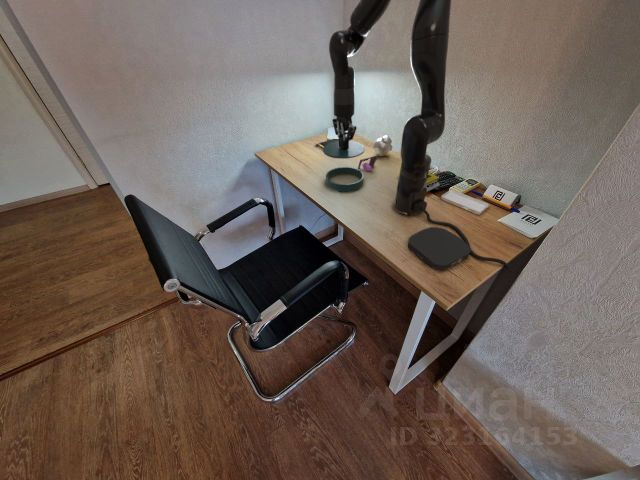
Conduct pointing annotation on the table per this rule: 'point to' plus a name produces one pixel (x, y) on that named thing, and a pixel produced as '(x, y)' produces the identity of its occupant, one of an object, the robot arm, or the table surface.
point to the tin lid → (338, 152)
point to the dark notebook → (326, 143)
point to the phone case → (465, 202)
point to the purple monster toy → (366, 165)
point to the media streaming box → (438, 247)
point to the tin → (345, 187)
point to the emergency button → (430, 180)
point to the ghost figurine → (382, 146)
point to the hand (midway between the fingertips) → (343, 148)
